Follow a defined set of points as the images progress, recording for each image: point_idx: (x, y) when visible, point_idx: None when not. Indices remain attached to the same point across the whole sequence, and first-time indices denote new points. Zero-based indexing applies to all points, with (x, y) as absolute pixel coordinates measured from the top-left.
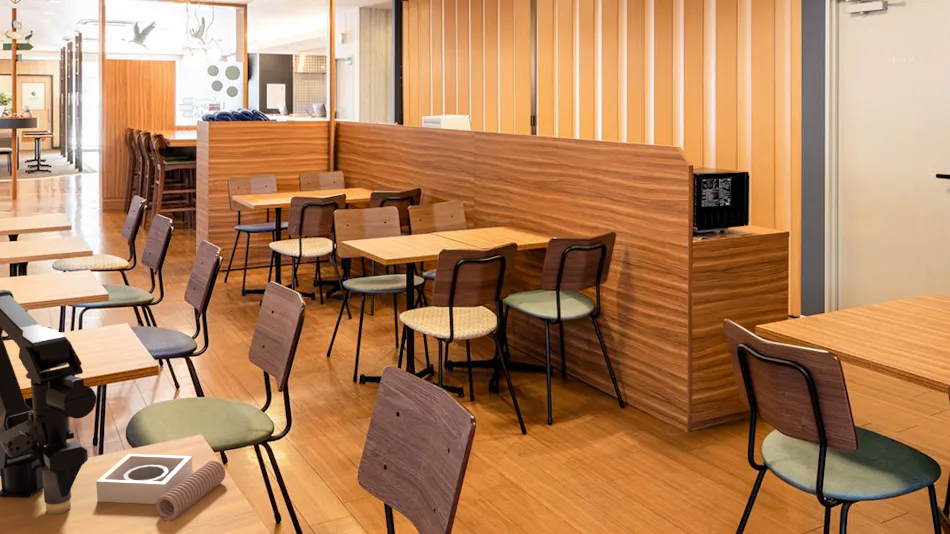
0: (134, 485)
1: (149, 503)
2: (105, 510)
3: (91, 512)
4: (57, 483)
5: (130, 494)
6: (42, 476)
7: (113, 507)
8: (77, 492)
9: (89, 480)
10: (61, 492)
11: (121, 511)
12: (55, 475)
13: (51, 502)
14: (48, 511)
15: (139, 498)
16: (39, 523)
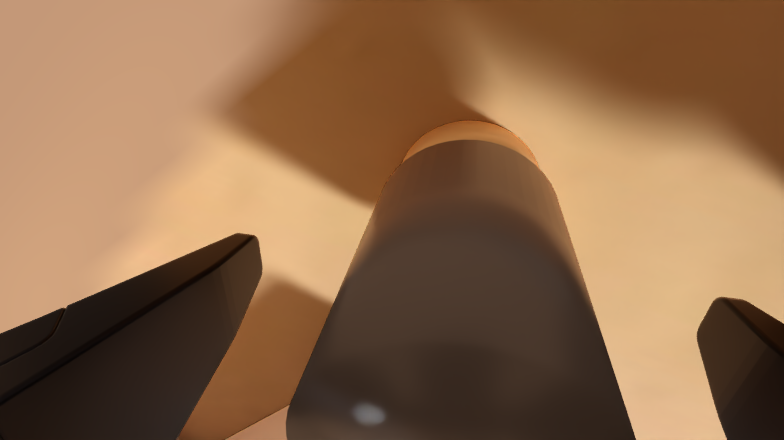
0: None
1: (250, 426)
2: (288, 321)
3: (304, 278)
4: (151, 296)
5: (281, 436)
6: (514, 280)
7: (299, 350)
8: (605, 336)
9: (698, 424)
10: (202, 253)
11: (240, 350)
12: (28, 369)
13: (403, 167)
14: (452, 127)
15: (266, 432)
16: (338, 19)
